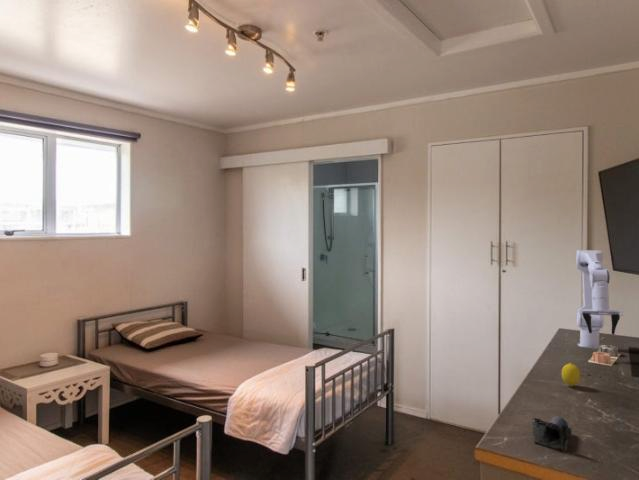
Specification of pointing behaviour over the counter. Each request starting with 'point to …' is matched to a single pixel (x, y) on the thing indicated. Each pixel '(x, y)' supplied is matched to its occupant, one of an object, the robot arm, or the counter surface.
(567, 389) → the counter surface
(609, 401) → the counter surface
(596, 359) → the gear
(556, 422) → the black camera
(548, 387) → the counter surface
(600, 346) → the board
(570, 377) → the lemon
